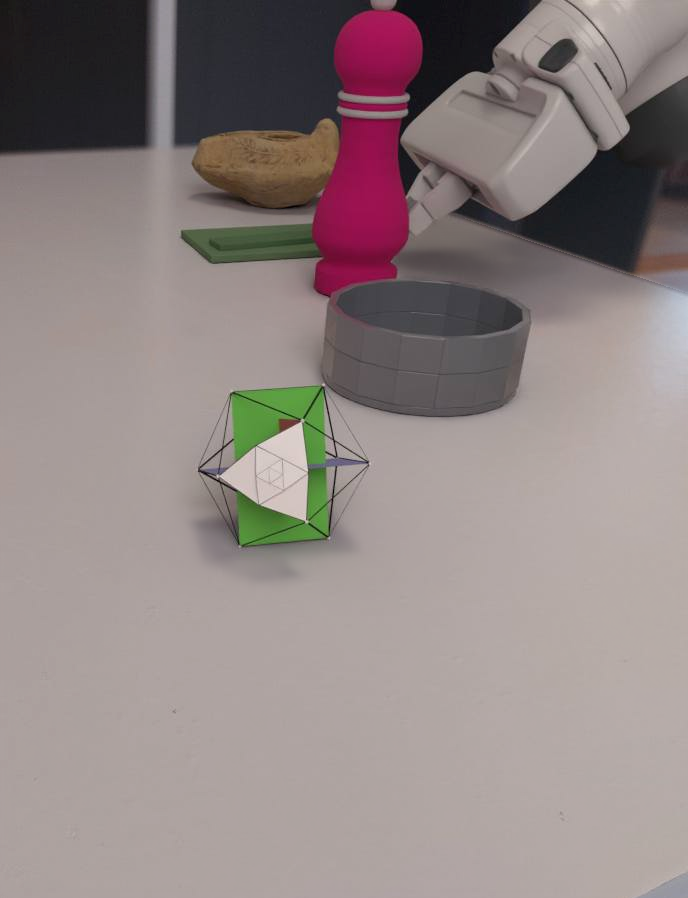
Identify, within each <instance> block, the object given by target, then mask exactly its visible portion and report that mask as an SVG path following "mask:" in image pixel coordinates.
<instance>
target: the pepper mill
mask: <svg viewBox="0 0 688 898" xmlns="http://www.w3.org/2000/svg"><path fill="white" fill-rule="evenodd" d="M397 1H398V0H370V5H371V7H372V9H371V10H366V11H362V12H360V13H358V14H356V15H354V16H353V17H352V18H350V19H349V20H348V21H347V22H346V23H345V24H344V25H343V27H341V30H340V32H339V33H338V36H337V39H336V42H335V44H334V50H333V51H334V52H333V64H334V67H335V71H336V74H337V75H338V77H339V78H340V80H341V83H342V85H343V89H341V90H339V91H338V92H337V98H338V99H339V100H338V105H337V107H336V112H337V113H338V114H339V115H341V133H340V139H339V141H340V146H339V152H338V156H337V159H336V162H335V165H334V169H333V171H332V173H331V175H330V178H329V180H328V182H327V184H326V186H325V188H324V189H323V190H322V193H321V195H320V197H319V199H318V201H317V205H316V208H315V211H314V214H313V218H312V219H313V220H312V223H313V225H312V237H313V240H314V242H315V244H316V246H317V247H318V249H319V250H320V252H321V253H322V255H323V256H322V257H323V258H321V259H319V260H318V261H317V262H316V263H315V268H314V281H313V283H314V284H313V286H314V289H315V290H316V291H317V292H319V293H320V294H322V295H325V296H328V297H331V295H332V293H333V292H334V291H337V290H339V289H341V288H343V287H346V286H348V285H350V284H354V283H360V282H366V281H372V280H378V279H398V273H399V272H398V271H399V269H398V267H397V266H396V264H394V263H393V262H392V261H393V260H394V259H395V257H396V256H397V255H398V254H399V253H400V252H401V251H402V250H403V249H404V247H406V244H407V243H408V240H409V237H410V236H409V235H410V232H409V212H408V204H407V201H406V193H405V189H404V186H403V181H402V177H401V172H400V164H399V137H400V130H401V125H402V120H403V118H405V117H407V116H408V115H409V109H408V108H407V107H408V105H409V104H408V102H409V101H410V99H411V95H410V94H409V93H408V92H406V90H407V88H408V85H409V84H410V83H411V81H413V79H414V78H415V77H416V75H418V74H419V71H420V68H421V66H422V62H423V52H424V50H423V49H424V48H423V40H422V35H421V32H420V30H419V28H418V26H417V24H416V23H415V22H414V21H413V20H412V19H411V18H409V17H408V16H407V15H405V14H403V13H401V12H398V11H395V10H393V9H394V7H395V6H396V4H397Z"/></svg>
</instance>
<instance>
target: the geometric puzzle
mask: <svg viewBox="0 0 688 898" xmlns="http://www.w3.org/2000/svg"><path fill="white" fill-rule="evenodd" d="M326 393H327V395H328V397H329V398H330V399H331V401H332V403H333V405H334V407H335V408H336V410H337V412H338V413H339V414H340V416H341V418H342V420H343V422H344V423H345V425H346V427H347V428H348V430H349V431H350V433H351V435H352V436H353V438H354V440H355V442H356V443H357V445H358V446H359V448H360V450H361V451H362V452H363V454H364V457H365V458H364V457H362V456H361V455H359V454H358V453H356V452H354V451H353V450H351V449H350V448H348V447H347V446H345V445H344V444H342V443H340V442H339V441H337V440H336V439H335V436H334V429H333V425H332V420H331V415H330V410H329V405H328V400H327V395H326ZM227 403H228V406H227V414H226V419H225V425H224V432H223V437H222V444H221V445H222V446H221V447H220V448H219V449H218V450H217V452H215V453H214V454H213V455H212V456H210V457H209V458H208V459H207V460H206V461H205V462H204V463H202V460H203V459H204V456H205V454H206V451H207V450H208V447H209V444H210V442H211V440H212V438H213V435H214V433H215V431H216V428H217V427H218V424H219V422H220V420H221V417H222V415H223V412H224V410H225V408H226V405H227ZM230 405H231V407H230ZM230 408H231V415H232V429H233V430H232V432H233V433H232V434H233V438H232V439H230V440H229V441H228V442H227V443H226V444H225V438H226V433H227V426H228V418H229V413H230ZM325 408H326V413H327V417H328V422H329V427H330V433H331V436H329V435H328V434H326V425H325V424H326V423H325V421H326V419H325ZM343 417H344V416H343V415H342V414H341V412H340V410H339V409H338V408H337V406H336V403H335V402H334V401H333V399H332V397H331V395H330V394H329V392H328V391H327V389H326V383H322V384H320V385H308V386H307V385H305V386H293V387H290V386H289V387H277V388H276V387H275V388H263V389H247V390H233V389H230V390H229V395H228V397H227V400H226V402H225V403H224V407H223V409H222V411H221V414H220V416H219V419H218V421H217V423H216V426H215V427H214V430H213V432H212V434H211V436H210V439H209V441H208V444H207V446H206V448H205V451H204V453H203V454H202V458H200V459H201V460H200V462H199V464H198V466H197V467H196V468H195V472H196V473H198V474H199V476H200V477H201V480H202V481H203V484H204V485H205V486H206V490H208V492H209V494H210V496H211V498H212V499H213V501H214V504H215V505H216V506H217V508H218V510H219V512H220V514H221V515H222V518H223V519H224V520H225V523H226V524H227V526H228V528H229V530H230V532H231V533H232V535H233V537H234V539H235V541H236V543H237V544H238V546H237V547H238V548H239V549H242V547H250V546H251V547H252V546H260V545H271V544H281V543H282V544H283V543H292V542H293V543H294V542H301V541H312V540H313V541H314V540H322V539H326V540H327V541H330V540H331V535H332V533H333V531H334V530H335V528H336V526H337V524H338V522H339V521H340V519H341V517H342V514H344V512H345V510H346V508H347V506H348V505H349V502H350V501H351V499H352V498H353V495H354V494H355V491H356V490H357V489H358V487H359V485H360V483H361V481H362V480H363V478H364V476H365V474H366V473H367V470H368V469H369V467H370V466H371V465H372V464H373V463H372V461H370V460H369V459H368V457H367V455H366V454H365V452H364V451H363V448H362V447H361V445H360V444H359V442H358V440H357V439H356V437H355V435H354V434H353V432H352V431H351V429H350V427H349V425H348V424H347V422H346V421H345V419H344V418H343ZM326 437H327V438H328V439H329V440H332V442H333V448H334V452H335V454H333V453H331V452H329V451H327V449H326V447H327V446H326ZM232 442H233V448H234V449H233V450H234V462H233V463H232V464H231V465H229V466H225V467H221V464H222V457H223V451H224V449H225V448H226V447H228V446H229V445H230V444H231V443H232ZM336 444H338V445H339V446H341V447H342V448H344V449H346V450H347V451H349V452H350V453H352V454H353V455H355V456H356V457H358V458H359V459H361V460H357V459H351V458H346V457H339V455H338V451H337V450H338V449H337V446H336ZM218 454H220V458H219V464H218V467H213V468H203V467H204V466H205V465H207V464H208V463H209V462H210V461H211V460H212V459H214V458H215V457H216V456H217V455H218ZM327 455H329V456H331V457H332V458H327ZM201 463H202V464H201ZM358 465H366V466H365V467H364V468H362V470H361V471H359V472H358V473H357V474H356V475H355V476H354V477H353V478H352V479H350V481H349V482H348V483H346V484H345V485H344V487H342V488H341V489H340V490H339V491H338V492H337V493H336V494H335V490H336V481H337V471H338V467H344V466H345V467H346V466H358ZM333 467H334V476H333V484H332V494H331V498H330V499H329V500H328V481H327V480H328V477H327V468H333ZM202 468H203V469H202ZM361 473H363V475H362V477H361V478H360V480H359V483H358V484H357V486H356V487H355V489H354V491H353V492H352V494H351V496H350V498H349V500H348V502H347V503H346V505H345V507H344V509H343V510H342V513H341V514H340V516H339V518H338V519H337V520H336V522H335V525H334V527H333V528H332V530H331V524H332V516H333V507H334V500H335V499H334V498H335V497H337V496H338V495H339V494H340V493H341V492H342V491H343V490H344V489H345V488H346V487H348V485H350V484H351V482H353V481H354V480H355V479H356V478H357V477H358V476H359V475H360V474H361ZM201 474H202V475H204V476H205V477H207V478H209V479H211V480H213V481H215V482H216V483H219V485H220V489H221V492H222V496H223V499H224V501H225V506H226V508H227V511H228V514H229V518H230V520H231V523H232V527H233V530H232V528H231V527H230V524H229V523H228V522H227V519H226V517H225V516H224V514H223V512H222V511H221V509H220V507H219V505H218V503H217V502H216V499H215V498H214V497H213V496H214V495H213V494H212V492H211V491H210V489H209V487H208V485H207V484H206V483H207V482H205V479H204V478H203V477H202V475H201ZM221 480H222V481H221ZM223 486H224V487H226V488H228V489H230V490H231V491H233V492H235V493H236V502H237V519H238V520H237V521H238V533H237V530H236V527H235V524H234V521H233V517H232V514H231V511H230V507H229V505H228V501H227V498H226V495H225V491H224V489H223ZM329 503H330V511H329V509H328V507H329V505H328V504H329ZM233 531H234V532H233ZM234 533H235V534H234Z"/></svg>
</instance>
